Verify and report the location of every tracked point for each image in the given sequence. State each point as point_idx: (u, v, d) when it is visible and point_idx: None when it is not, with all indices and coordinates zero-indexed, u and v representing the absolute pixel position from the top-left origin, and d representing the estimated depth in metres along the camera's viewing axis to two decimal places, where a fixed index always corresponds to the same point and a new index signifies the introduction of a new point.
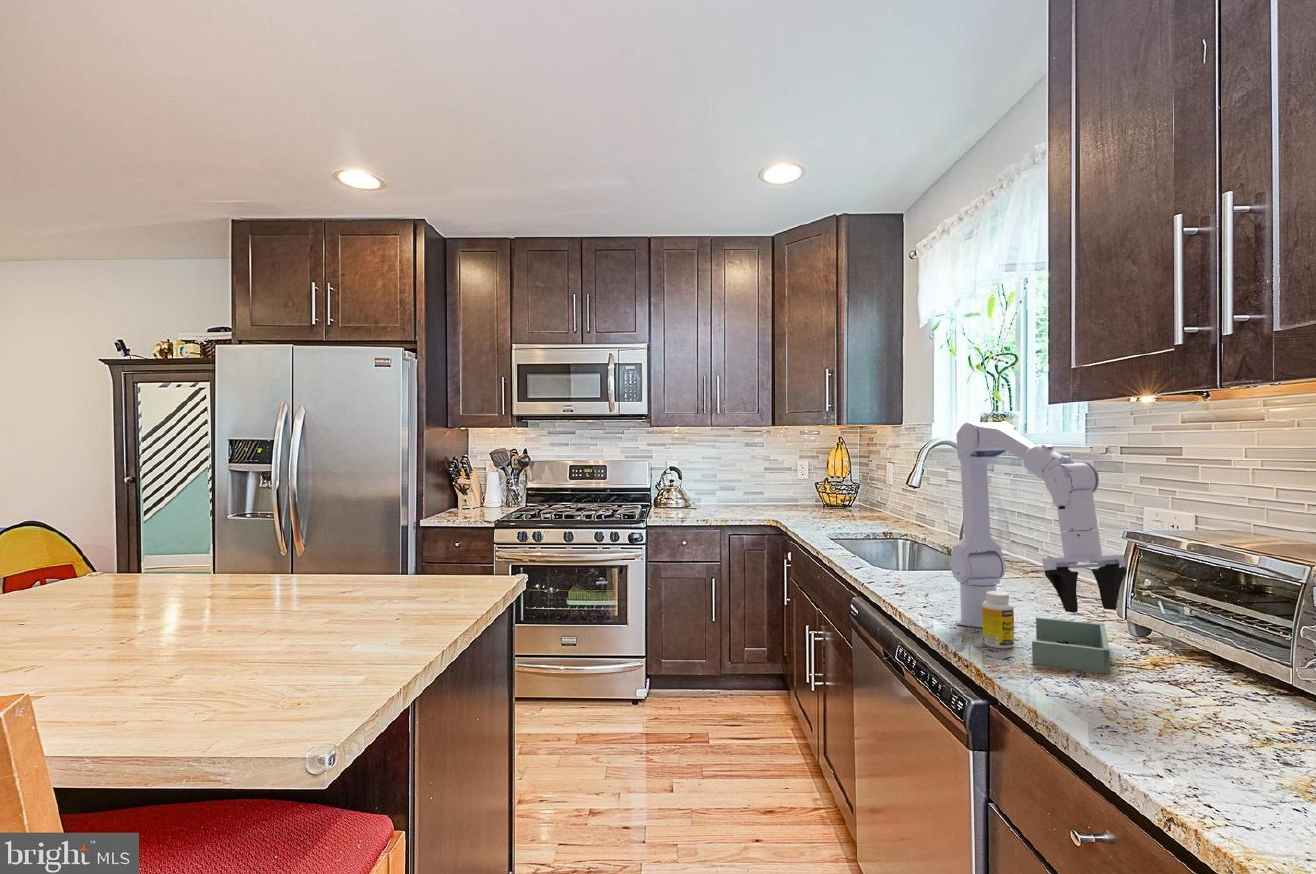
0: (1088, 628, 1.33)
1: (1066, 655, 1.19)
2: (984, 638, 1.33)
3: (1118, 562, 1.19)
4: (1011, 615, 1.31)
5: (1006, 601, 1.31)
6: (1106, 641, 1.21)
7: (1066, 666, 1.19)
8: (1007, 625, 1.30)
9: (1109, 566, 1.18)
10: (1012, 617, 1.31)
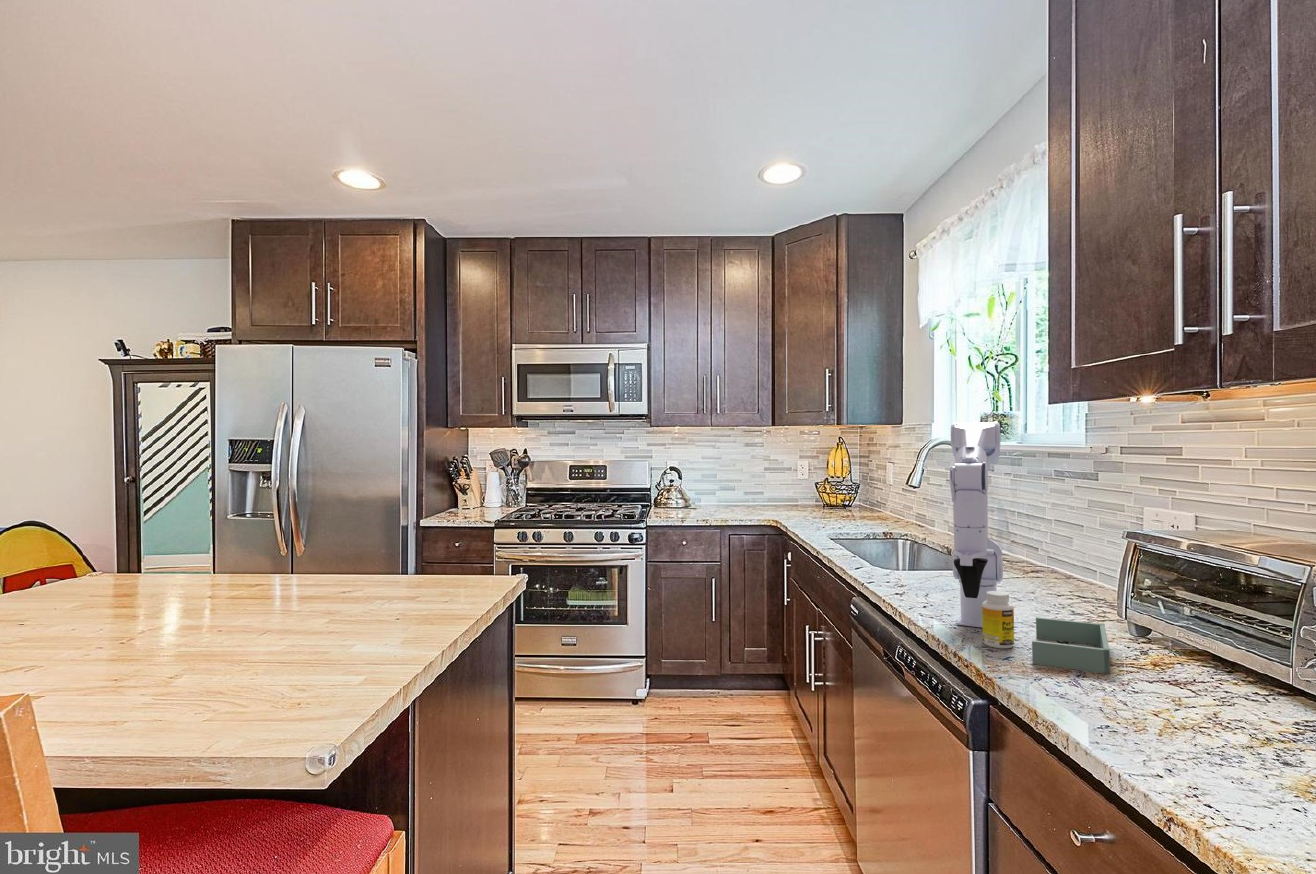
0: (1088, 628, 1.33)
1: (1066, 655, 1.19)
2: (984, 638, 1.33)
3: None
4: (1011, 615, 1.31)
5: (1006, 601, 1.31)
6: (1106, 641, 1.21)
7: (1066, 666, 1.19)
8: (1007, 625, 1.30)
9: None
10: (1012, 617, 1.31)
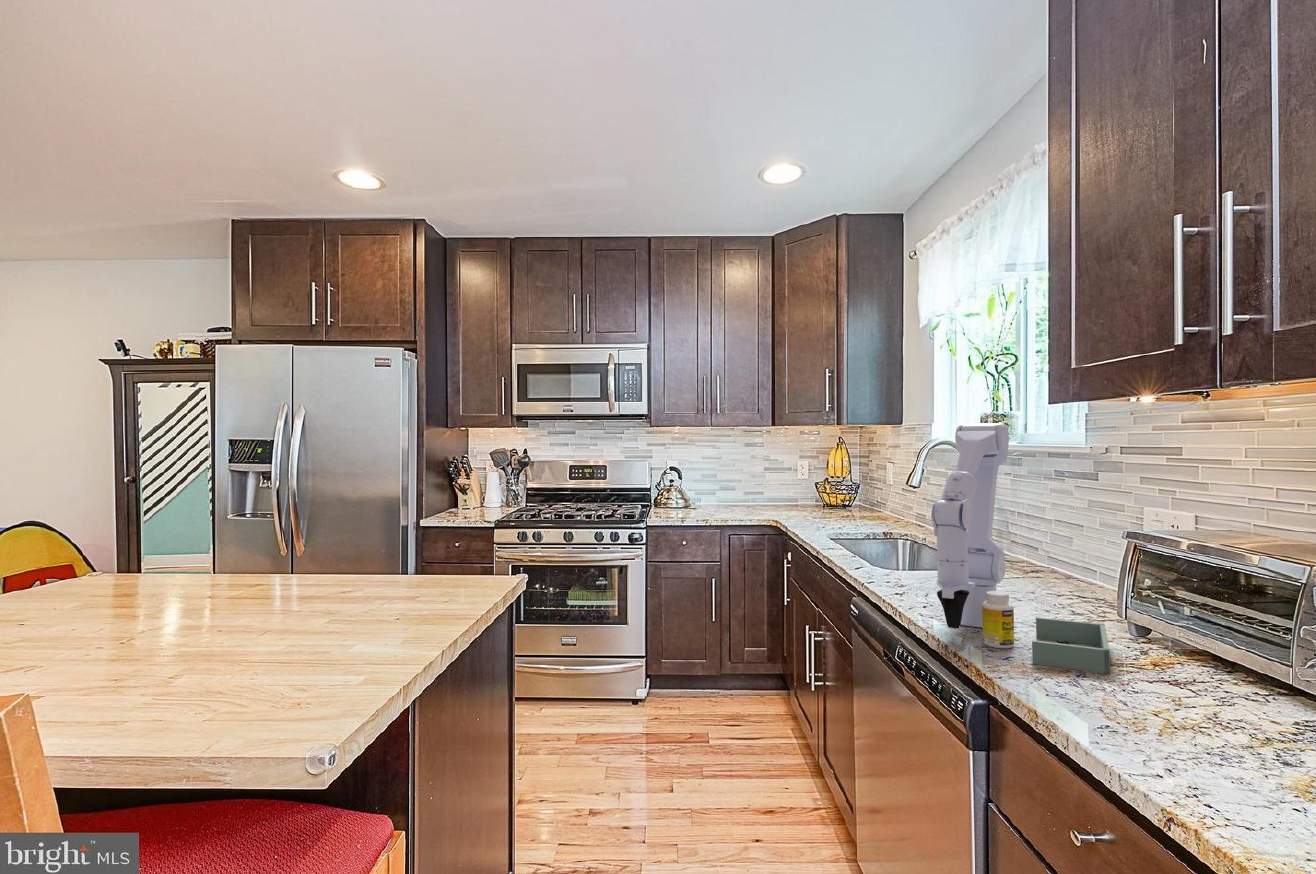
0: (1088, 628, 1.33)
1: (1066, 655, 1.19)
2: (984, 638, 1.33)
3: None
4: (1011, 615, 1.31)
5: (1006, 601, 1.31)
6: (1106, 641, 1.21)
7: (1066, 666, 1.19)
8: (1007, 625, 1.30)
9: None
10: (1012, 617, 1.31)
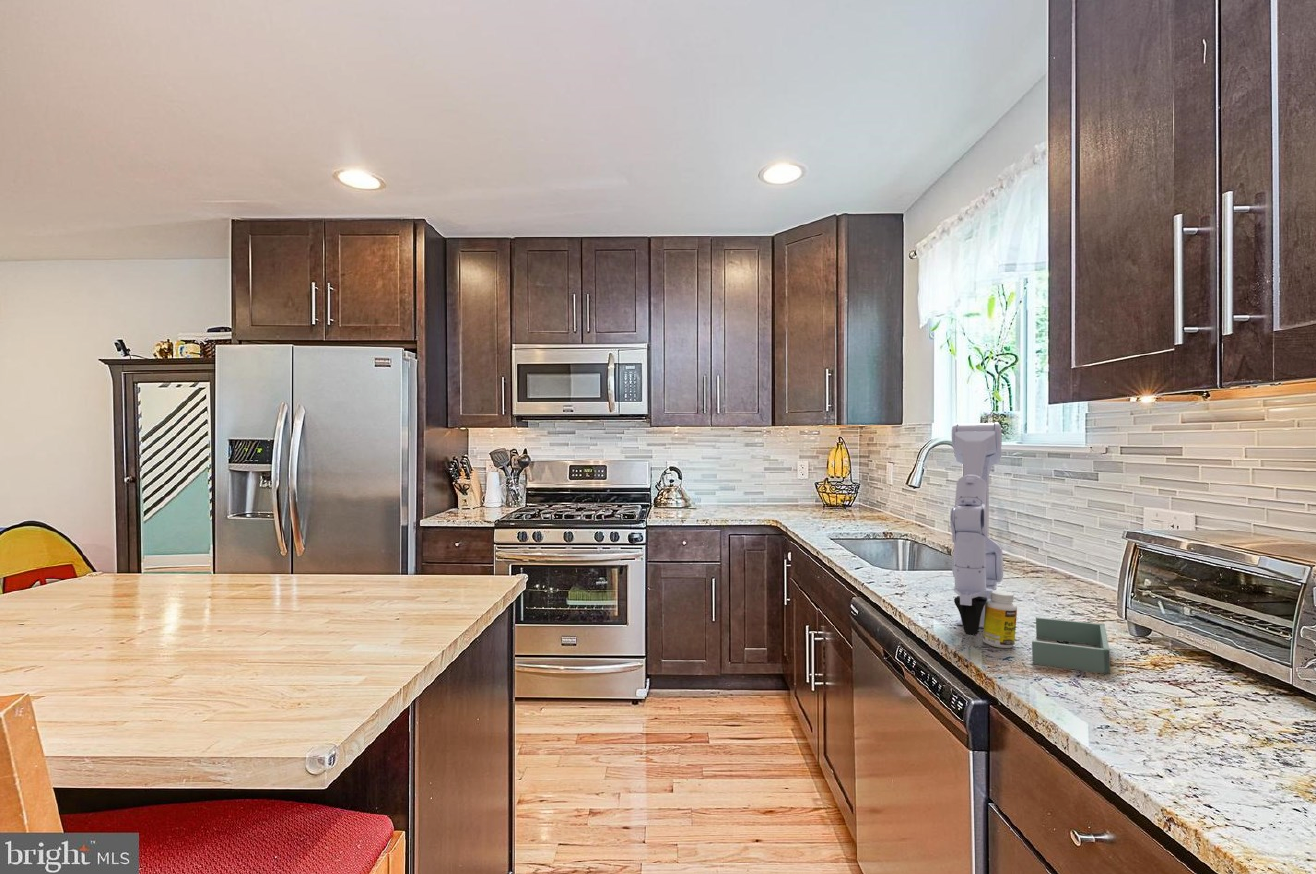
0: (1088, 628, 1.33)
1: (1066, 655, 1.19)
2: (985, 636, 1.33)
3: None
4: (1014, 615, 1.30)
5: (1010, 601, 1.31)
6: (1106, 641, 1.21)
7: (1066, 666, 1.19)
8: (1010, 625, 1.30)
9: None
10: (1015, 618, 1.31)
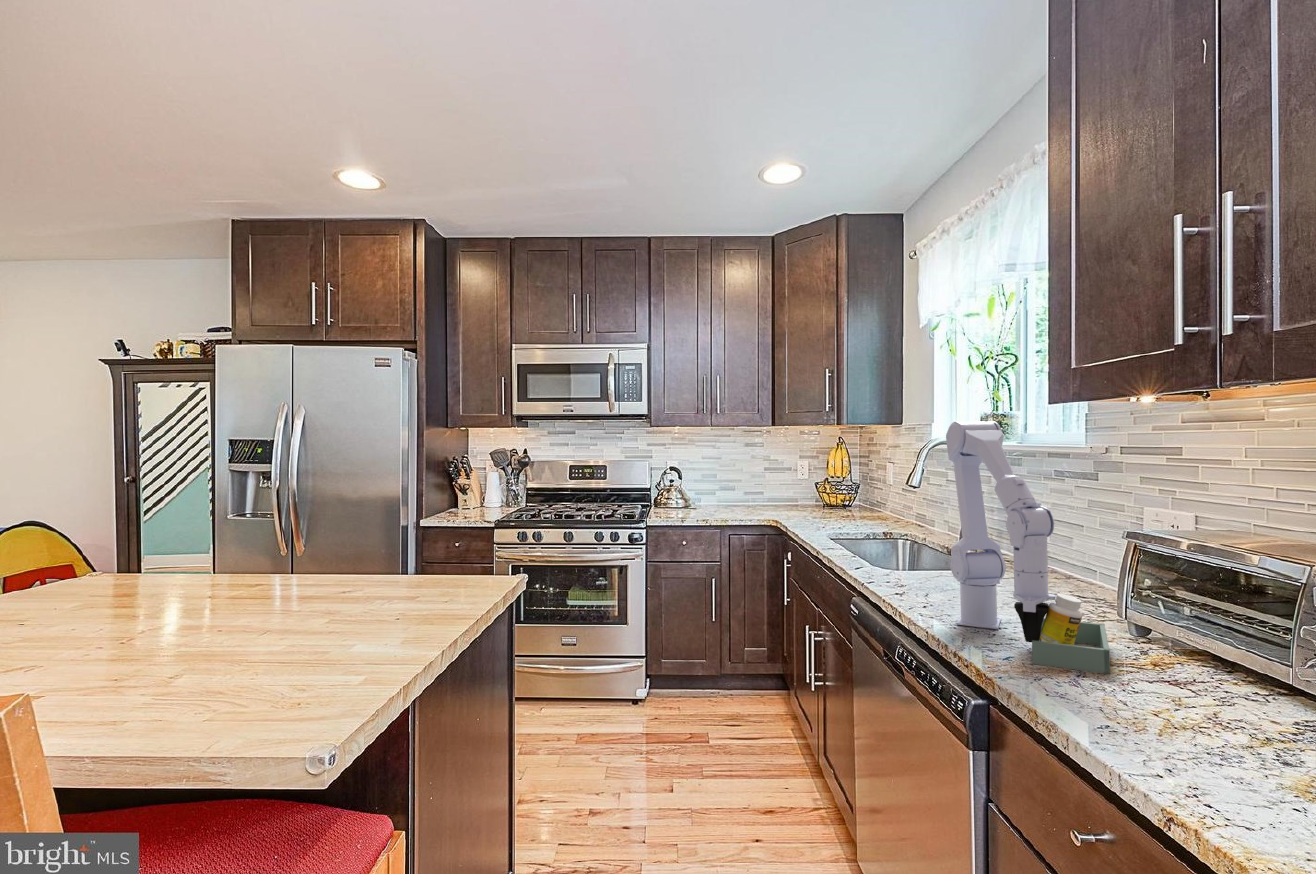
0: (1088, 628, 1.33)
1: (1066, 655, 1.19)
2: (1041, 638, 1.28)
3: None
4: (1078, 623, 1.25)
5: (1077, 608, 1.25)
6: (1106, 641, 1.21)
7: (1066, 666, 1.19)
8: (1071, 632, 1.25)
9: None
10: (1078, 625, 1.25)
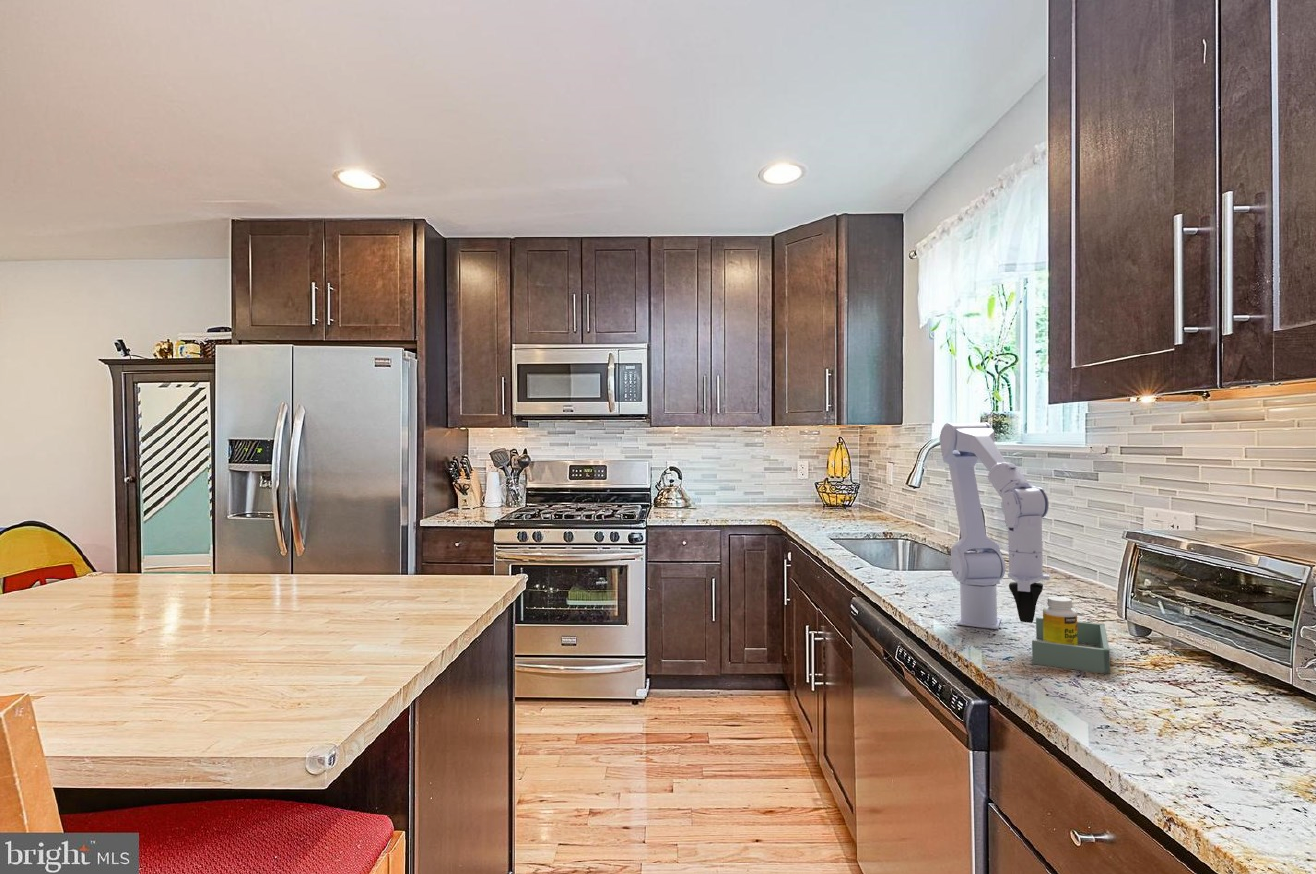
0: (1088, 628, 1.33)
1: (1066, 655, 1.19)
2: None
3: None
4: (1074, 622, 1.25)
5: (1069, 607, 1.26)
6: (1106, 641, 1.21)
7: (1066, 666, 1.19)
8: (1070, 632, 1.25)
9: None
10: (1075, 624, 1.25)
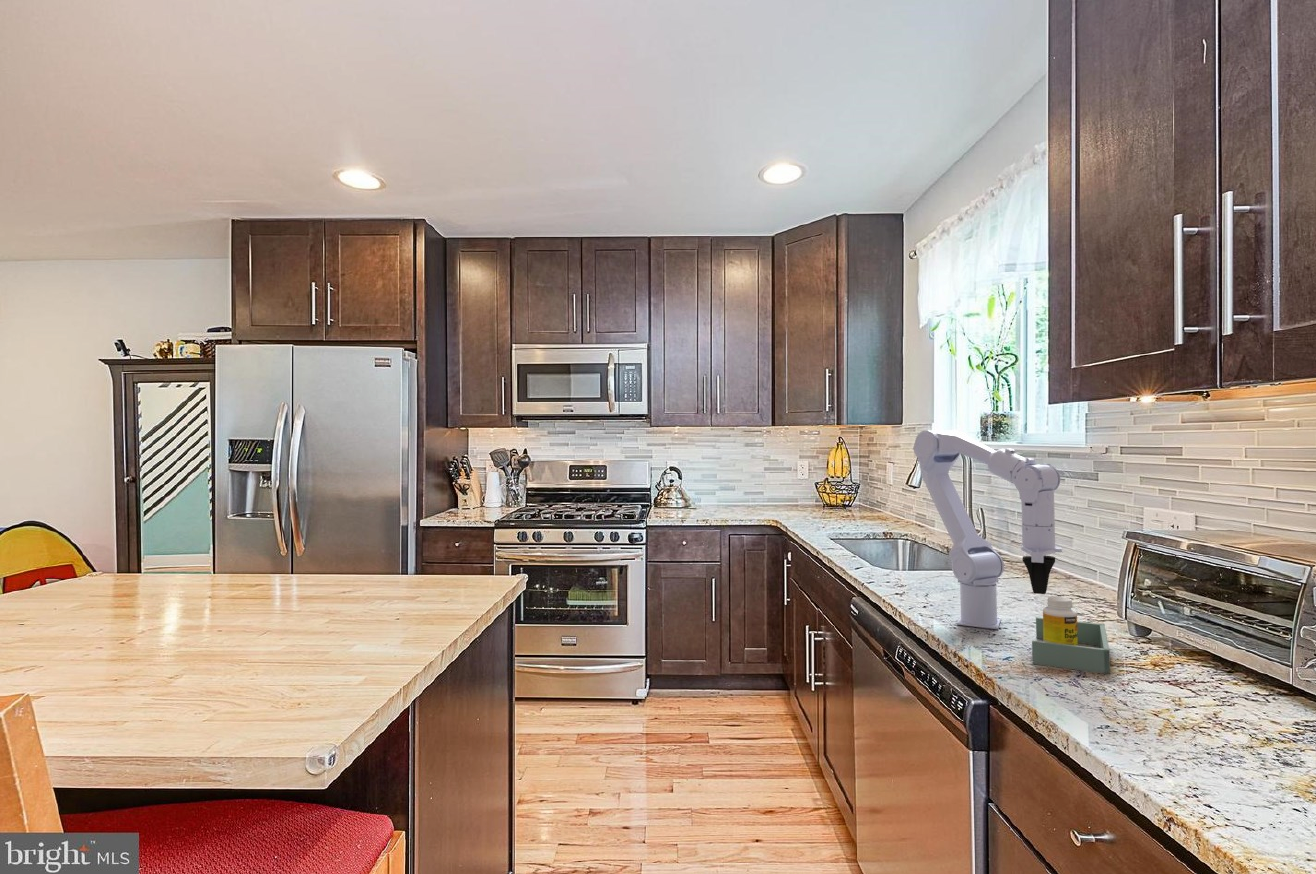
0: (1088, 628, 1.33)
1: (1066, 655, 1.19)
2: None
3: None
4: (1074, 622, 1.25)
5: (1069, 607, 1.26)
6: (1106, 641, 1.21)
7: (1066, 666, 1.19)
8: (1070, 632, 1.25)
9: None
10: (1075, 624, 1.25)
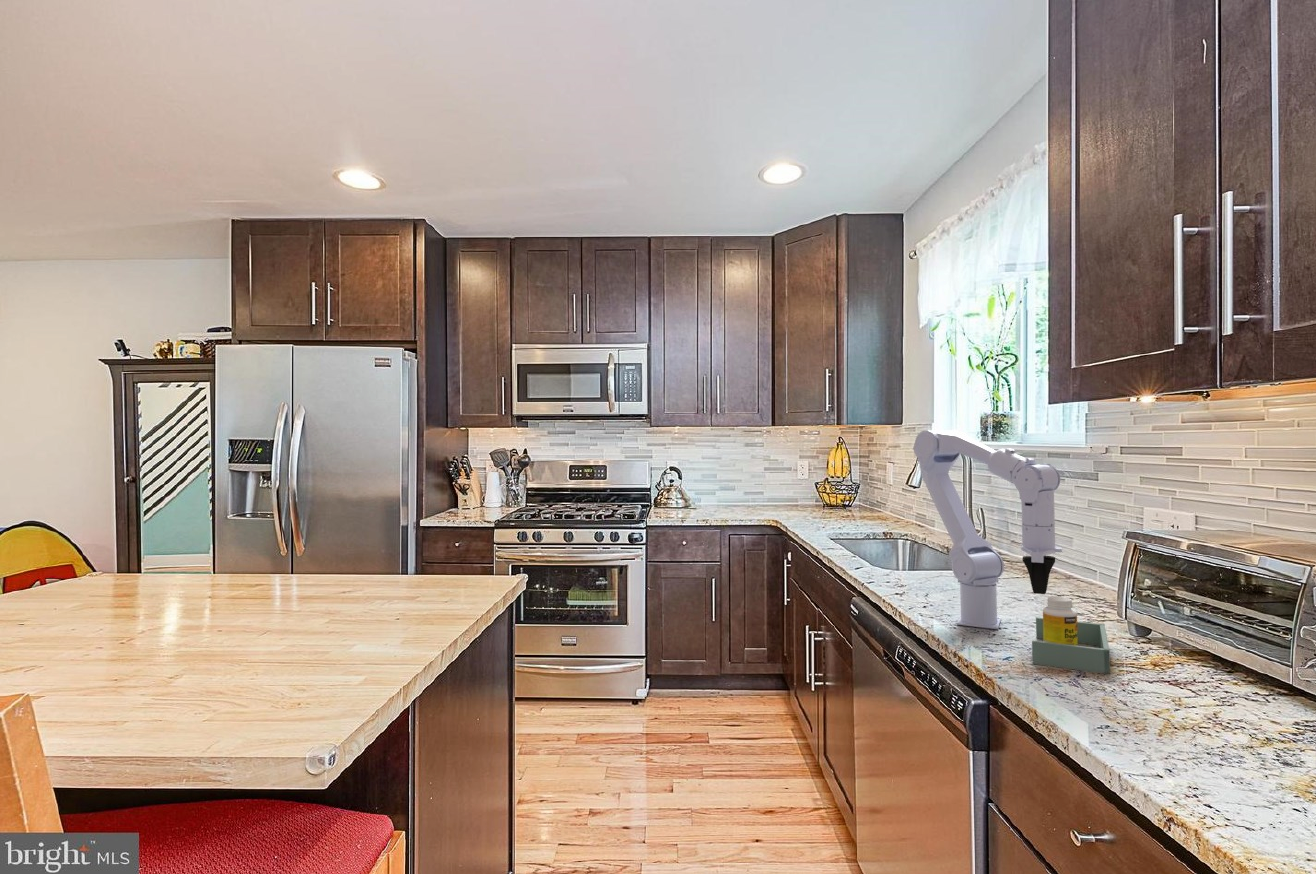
0: (1088, 628, 1.33)
1: (1066, 655, 1.19)
2: None
3: None
4: (1074, 622, 1.25)
5: (1069, 607, 1.26)
6: (1106, 641, 1.21)
7: (1066, 666, 1.19)
8: (1070, 632, 1.25)
9: None
10: (1075, 624, 1.25)
